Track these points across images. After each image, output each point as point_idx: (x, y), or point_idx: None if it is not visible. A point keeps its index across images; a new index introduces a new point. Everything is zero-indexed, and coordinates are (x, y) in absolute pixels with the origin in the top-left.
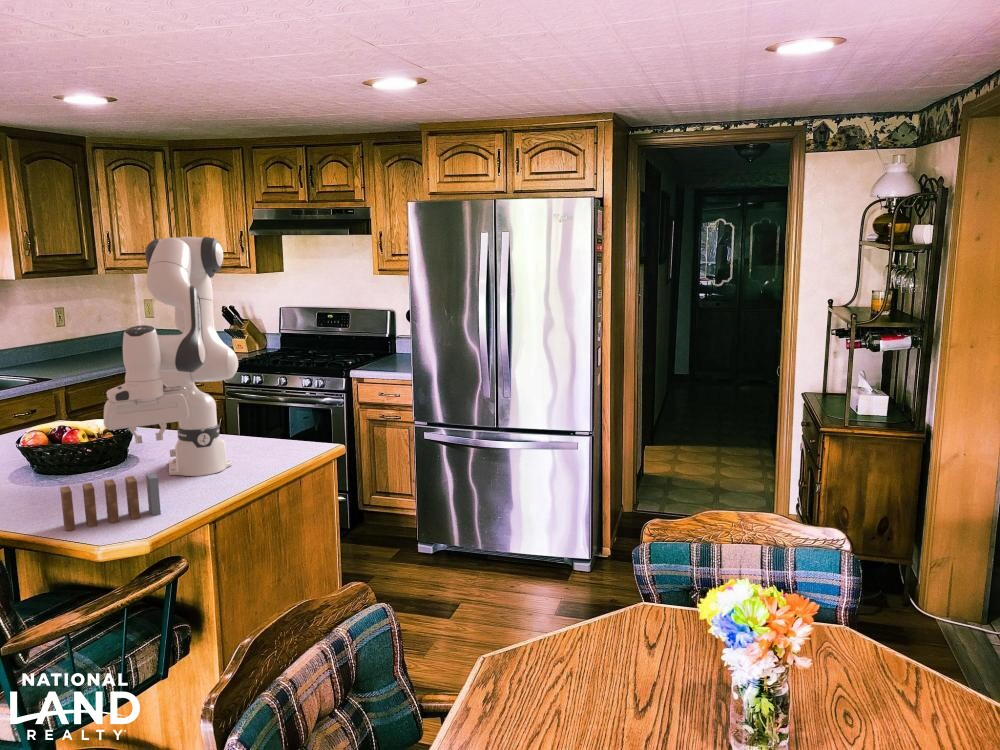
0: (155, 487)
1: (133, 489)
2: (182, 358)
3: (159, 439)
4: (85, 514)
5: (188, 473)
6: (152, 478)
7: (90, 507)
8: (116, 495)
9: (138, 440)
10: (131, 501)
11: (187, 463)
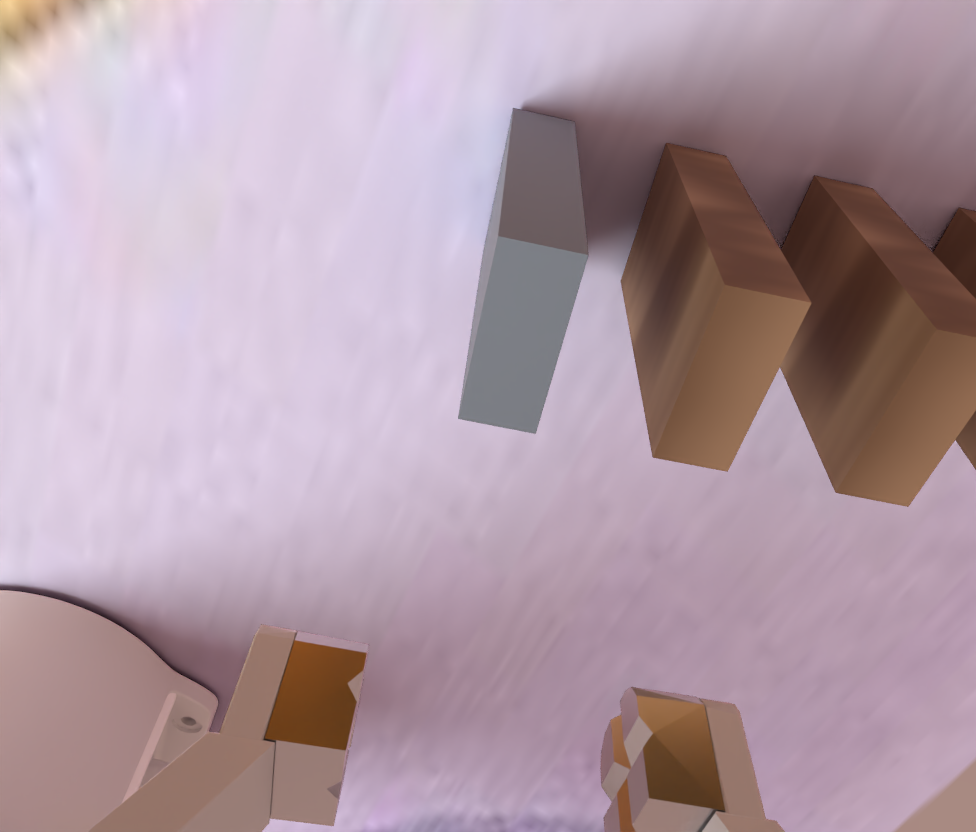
0: (533, 200)
1: (746, 252)
2: None
3: (324, 643)
4: None
5: (125, 647)
6: (557, 247)
7: None
8: (893, 270)
9: (708, 740)
10: (747, 211)
11: (100, 705)
